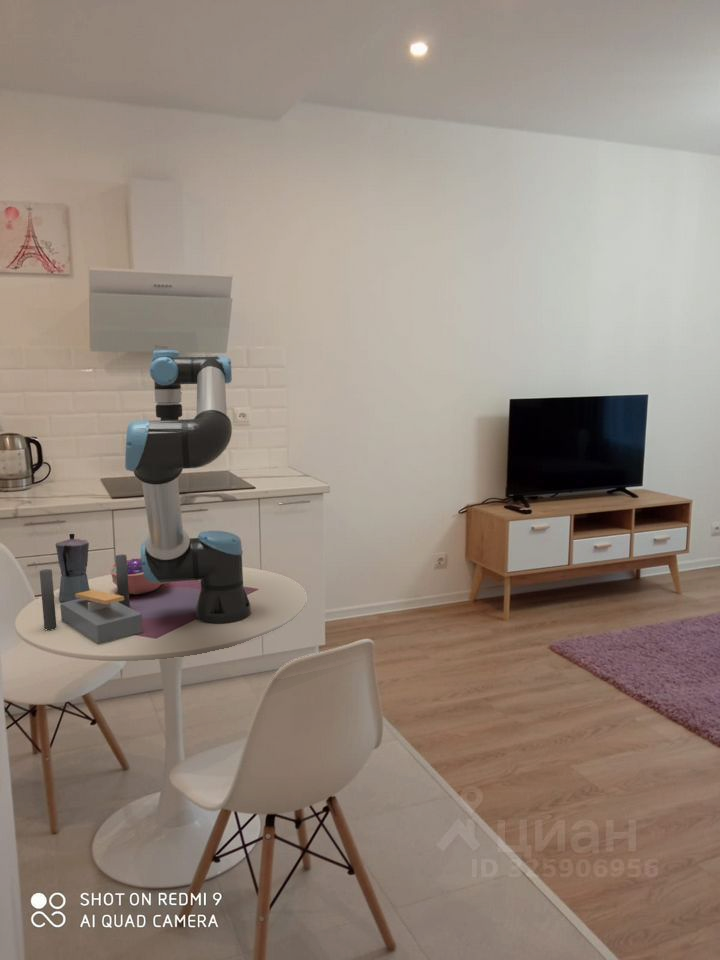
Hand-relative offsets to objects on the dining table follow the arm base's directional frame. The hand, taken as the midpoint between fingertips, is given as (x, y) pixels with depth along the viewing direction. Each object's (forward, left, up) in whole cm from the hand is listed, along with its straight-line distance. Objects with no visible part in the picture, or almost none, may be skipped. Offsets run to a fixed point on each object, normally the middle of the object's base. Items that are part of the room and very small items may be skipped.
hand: (172, 483), depth 223 cm
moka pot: (+17, +25, -35) cm, 46 cm away
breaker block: (-10, +29, -34) cm, 46 cm away
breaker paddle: (-10, +29, -26) cm, 40 cm away
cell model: (+11, +7, -35) cm, 37 cm away
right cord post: (-2, +19, -34) cm, 39 cm away
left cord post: (-2, +40, -34) cm, 52 cm away
